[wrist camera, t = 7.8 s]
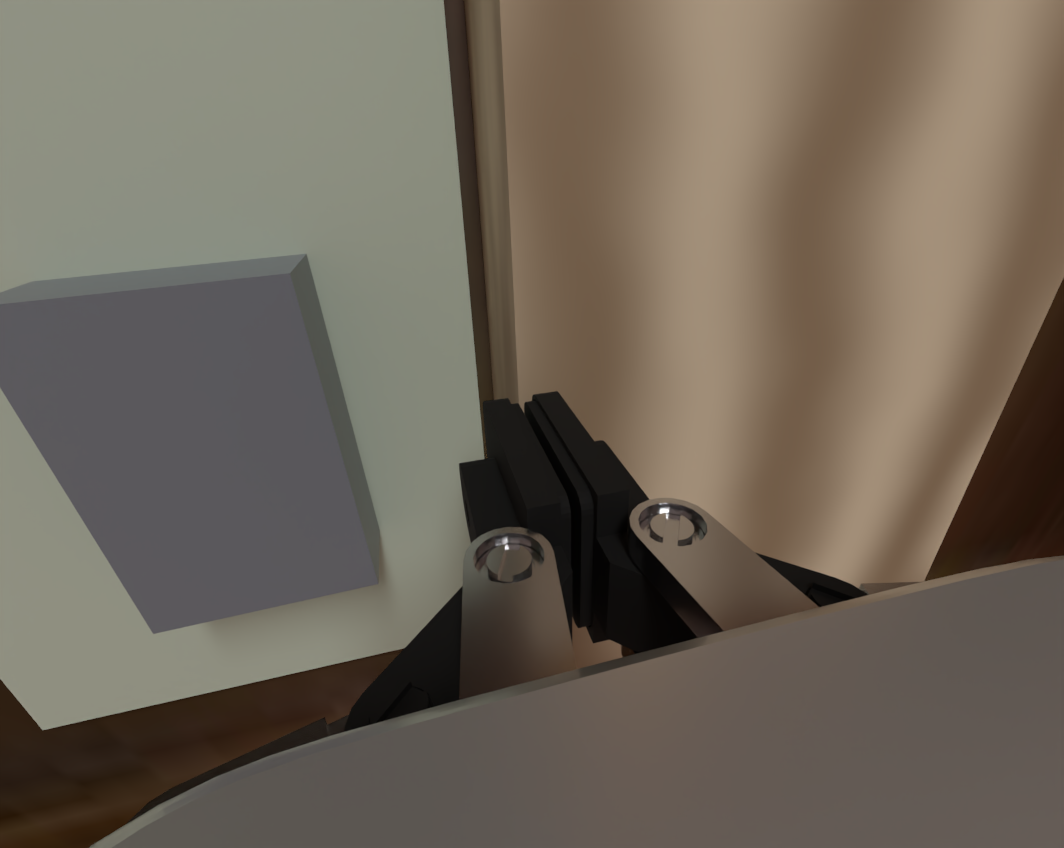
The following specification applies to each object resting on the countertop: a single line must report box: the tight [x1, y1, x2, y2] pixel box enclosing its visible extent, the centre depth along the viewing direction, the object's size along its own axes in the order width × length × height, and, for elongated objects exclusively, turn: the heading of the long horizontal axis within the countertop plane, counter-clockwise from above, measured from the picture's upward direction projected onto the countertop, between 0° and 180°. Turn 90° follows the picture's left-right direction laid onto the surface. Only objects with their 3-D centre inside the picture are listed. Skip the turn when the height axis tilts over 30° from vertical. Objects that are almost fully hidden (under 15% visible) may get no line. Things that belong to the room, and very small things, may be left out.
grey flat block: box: [0, 254, 380, 634], centre depth 13 cm, size 6×9×2 cm, turn 4°
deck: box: [464, 0, 1064, 669], centre depth 16 cm, size 16×22×4 cm
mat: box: [0, 0, 484, 730], centre depth 14 cm, size 16×22×1 cm
